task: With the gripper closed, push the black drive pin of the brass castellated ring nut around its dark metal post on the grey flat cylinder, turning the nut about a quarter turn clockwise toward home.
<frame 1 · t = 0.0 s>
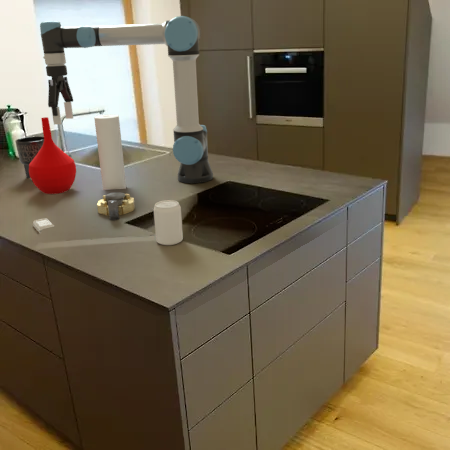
hand: (63, 121, 205), 28 cm above the counter, fingers open, 13 cm apart
grey flat cylinder: (110, 215, 183), on the counter
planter: (37, 178, 233), on the counter
vase: (56, 191, 214), on the counter
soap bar: (44, 230, 173), on the counter
beverage can: (169, 241, 159), on the counter
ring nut: (115, 203, 181), point 5 cm above the counter, hinge at 0.0°
cylinder container: (114, 189, 214), on the counter
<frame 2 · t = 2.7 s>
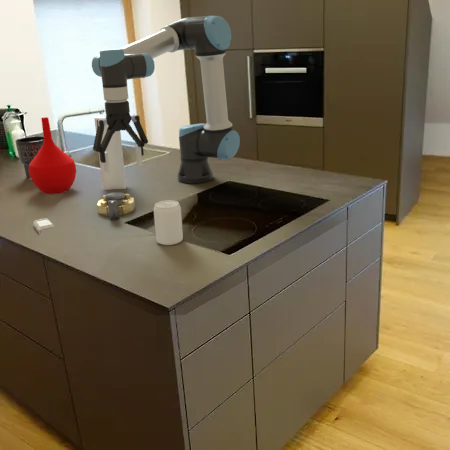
hand: (123, 168, 171), 18 cm above the counter, fingers open, 11 cm apart
nothing on the counter moved.
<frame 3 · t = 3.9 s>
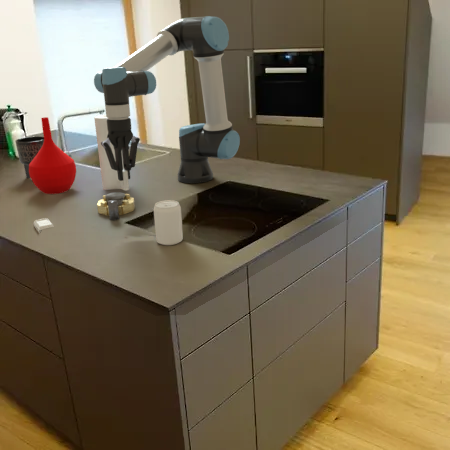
hand: (125, 189, 173), 11 cm above the counter, fingers closed
nothing on the counter moved.
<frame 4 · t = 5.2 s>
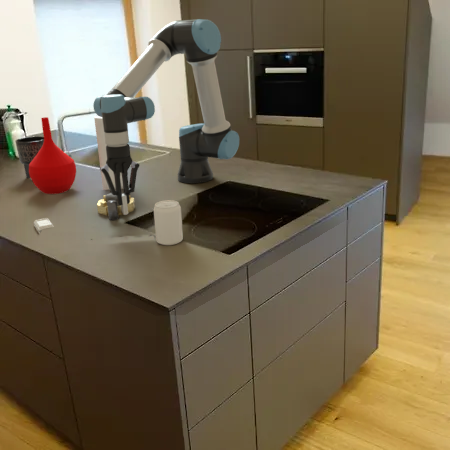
hand: (125, 213, 176), 3 cm above the counter, fingers closed
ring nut: (115, 203, 181), point 5 cm above the counter, hinge at -1.6°, touching gripper
everything else where it was.
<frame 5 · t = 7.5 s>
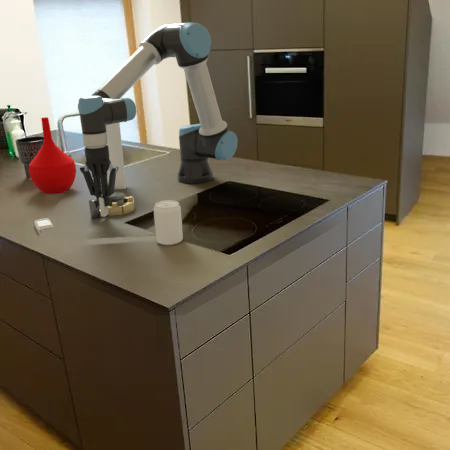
hand: (104, 215, 175), 3 cm above the counter, fingers closed
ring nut: (110, 203, 181), point 4 cm above the counter, hinge at -43.2°, touching gripper
everything else where it was.
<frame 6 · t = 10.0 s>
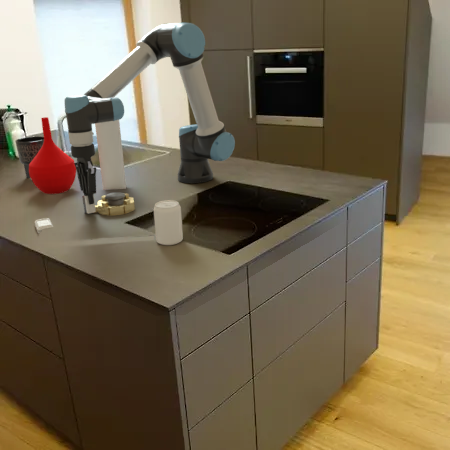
hand: (91, 212, 178), 3 cm above the counter, fingers closed
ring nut: (108, 202, 182), point 5 cm above the counter, hinge at -83.4°, touching gripper
everything else where it was.
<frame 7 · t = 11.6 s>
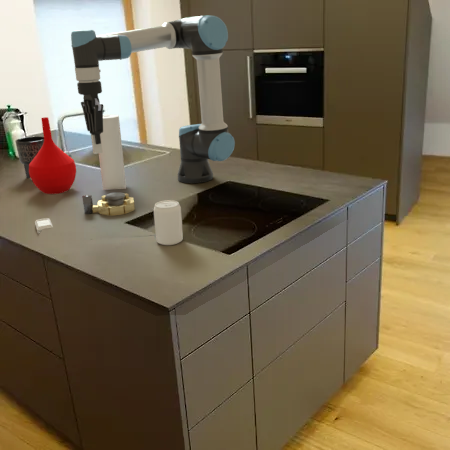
hand: (97, 153, 176), 22 cm above the counter, fingers closed
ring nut: (108, 202, 182), point 5 cm above the counter, hinge at -83.6°
everything else where it was.
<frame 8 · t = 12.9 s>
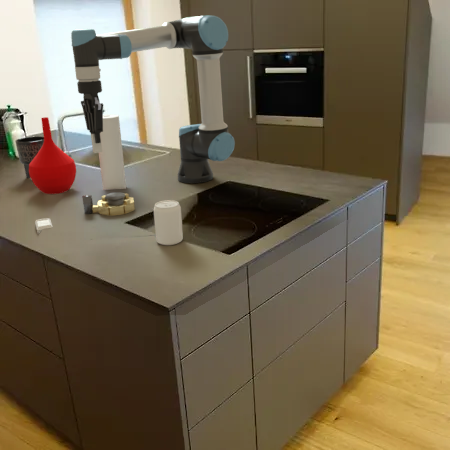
hand: (97, 152, 176), 22 cm above the counter, fingers closed
nothing on the counter moved.
at the end: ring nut at -84° (first picture: +0°); the gripper is holding nothing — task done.
